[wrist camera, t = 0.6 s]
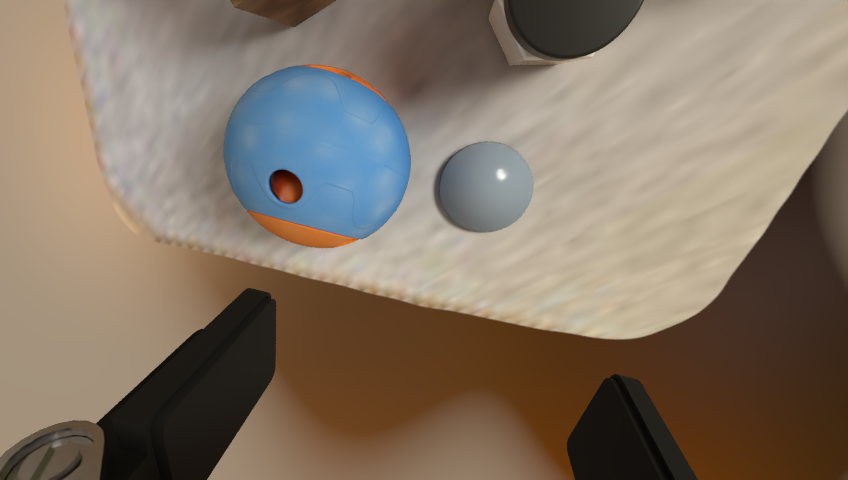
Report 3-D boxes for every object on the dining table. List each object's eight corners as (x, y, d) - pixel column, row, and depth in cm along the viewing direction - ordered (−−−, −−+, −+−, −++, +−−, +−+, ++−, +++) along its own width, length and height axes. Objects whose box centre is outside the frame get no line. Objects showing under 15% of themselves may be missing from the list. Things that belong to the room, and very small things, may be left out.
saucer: (514, 125, 34) (515, 126, 34) (543, 210, 38) (545, 213, 37) (425, 164, 37) (424, 166, 36) (460, 241, 41) (460, 244, 40)
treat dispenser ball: (435, 91, 34) (415, 98, 20) (403, 227, 41) (371, 301, 27) (286, 50, 34) (163, 29, 20) (278, 193, 41) (182, 250, 27)
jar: (600, -45, 28) (683, -124, 17) (582, 65, 32) (643, 56, 21) (490, -39, 29) (505, -109, 18) (485, 67, 33) (495, 61, 22)
